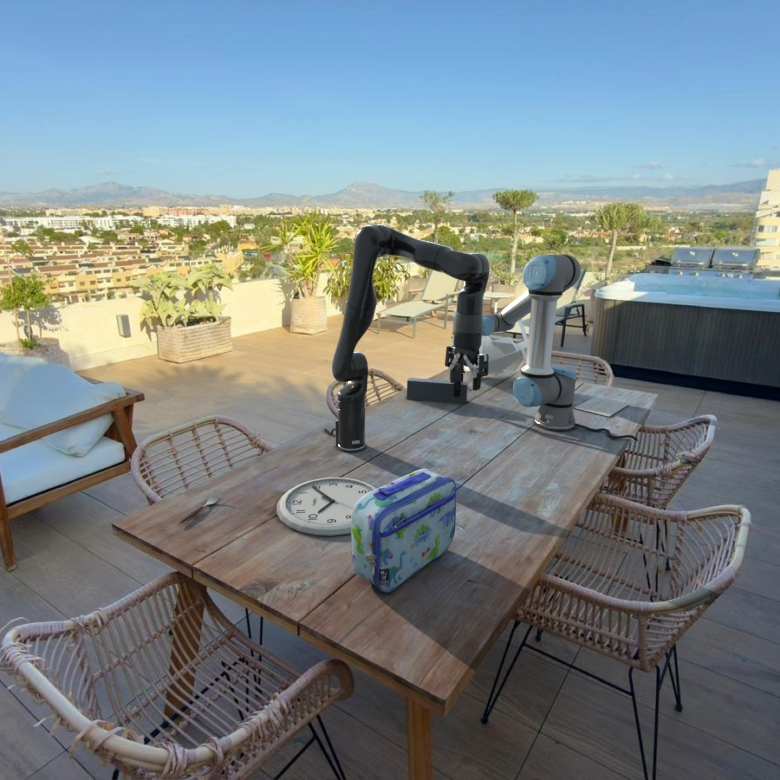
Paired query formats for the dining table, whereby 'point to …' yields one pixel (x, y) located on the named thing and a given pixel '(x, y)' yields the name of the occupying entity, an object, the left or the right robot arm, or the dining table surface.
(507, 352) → the white plastic object
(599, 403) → the invitation card
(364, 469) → the dining table surface
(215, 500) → the fork
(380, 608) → the dining table surface
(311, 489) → the wall clock
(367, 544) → the lunch box
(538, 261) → the right robot arm
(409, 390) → the bar
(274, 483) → the dining table surface
